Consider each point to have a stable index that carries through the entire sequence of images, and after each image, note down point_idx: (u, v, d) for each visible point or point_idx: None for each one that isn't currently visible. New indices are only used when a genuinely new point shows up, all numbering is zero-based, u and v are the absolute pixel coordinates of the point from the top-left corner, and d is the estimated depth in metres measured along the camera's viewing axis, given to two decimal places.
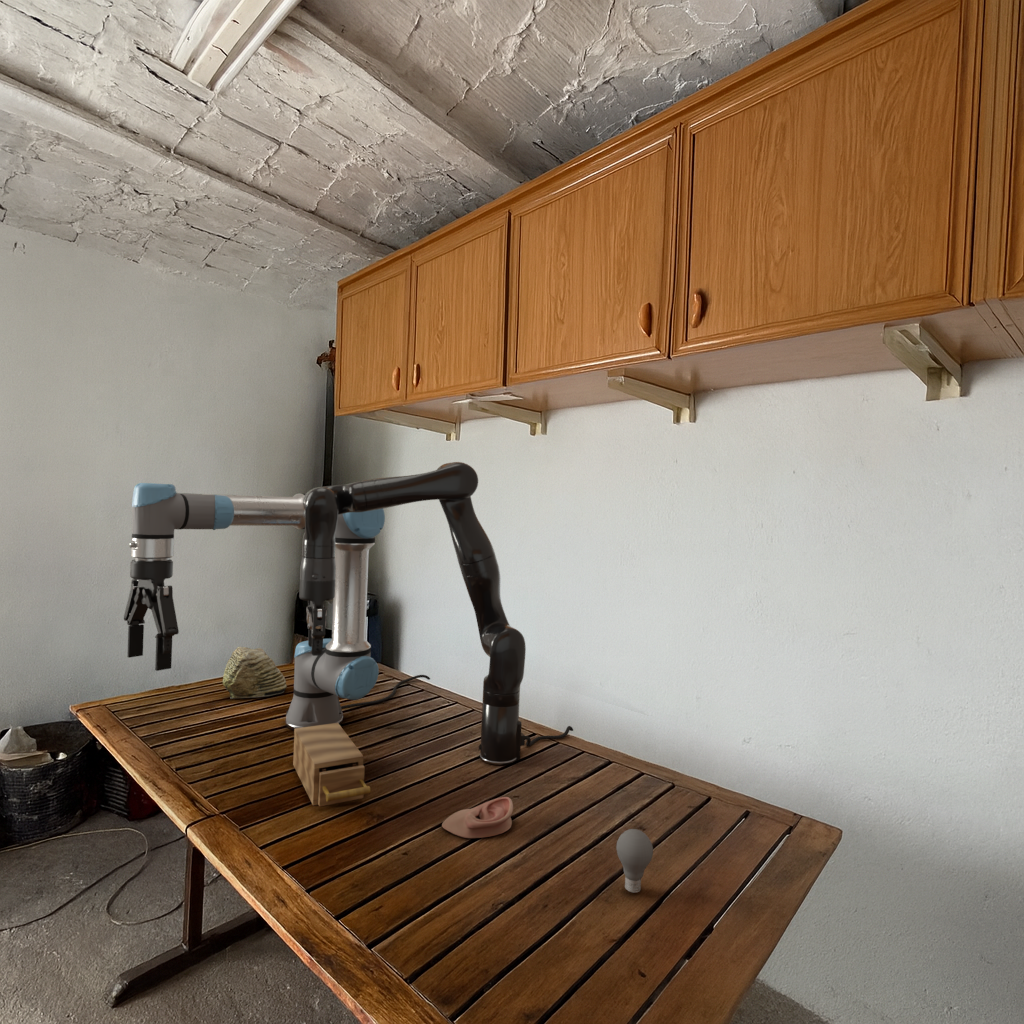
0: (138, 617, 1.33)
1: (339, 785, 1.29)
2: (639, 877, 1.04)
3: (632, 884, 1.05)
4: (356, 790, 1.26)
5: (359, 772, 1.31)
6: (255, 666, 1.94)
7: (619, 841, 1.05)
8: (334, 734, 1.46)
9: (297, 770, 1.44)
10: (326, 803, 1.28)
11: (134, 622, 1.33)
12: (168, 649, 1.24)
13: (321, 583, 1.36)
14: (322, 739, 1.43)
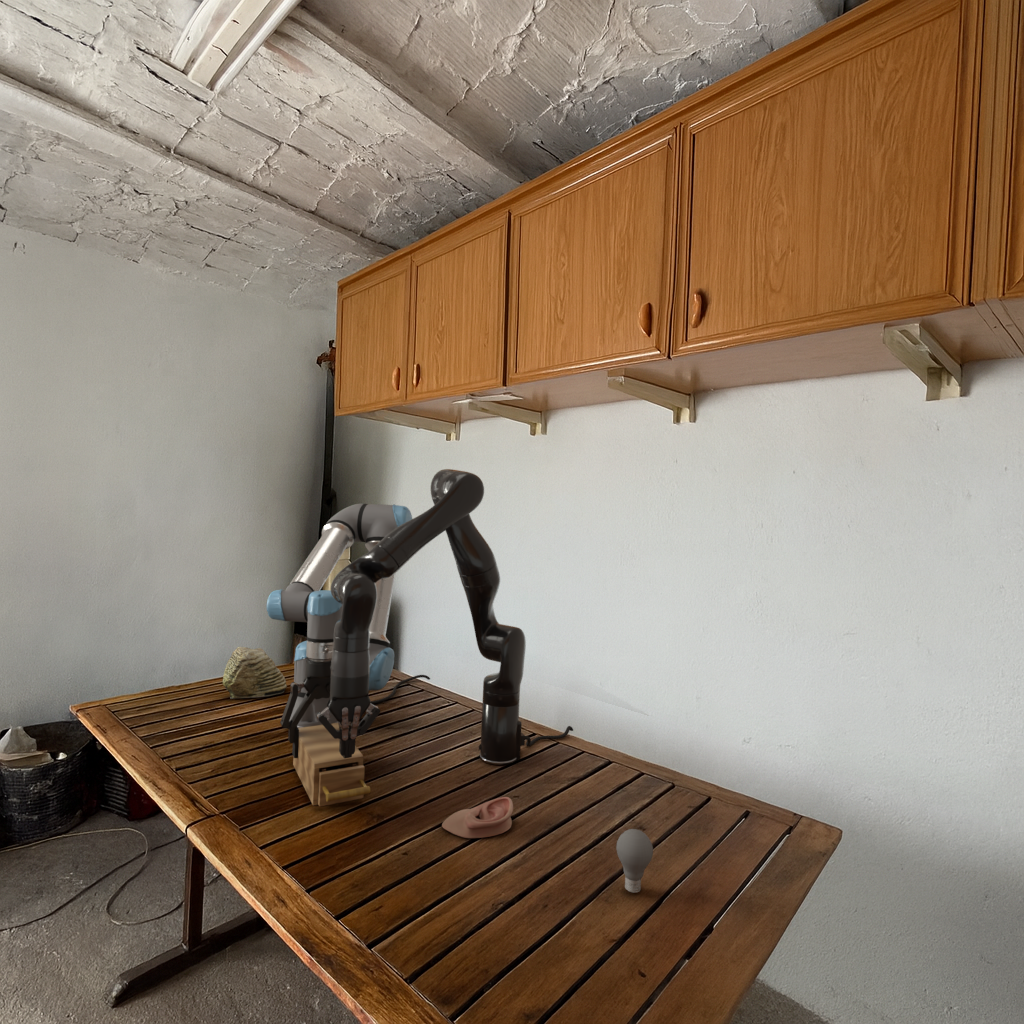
0: None
1: (339, 785, 1.29)
2: (639, 877, 1.04)
3: (632, 884, 1.05)
4: (356, 790, 1.26)
5: (359, 772, 1.31)
6: (255, 666, 1.94)
7: (619, 841, 1.05)
8: None
9: (297, 770, 1.44)
10: (326, 803, 1.28)
11: None
12: None
13: (332, 677, 1.25)
14: (322, 739, 1.43)
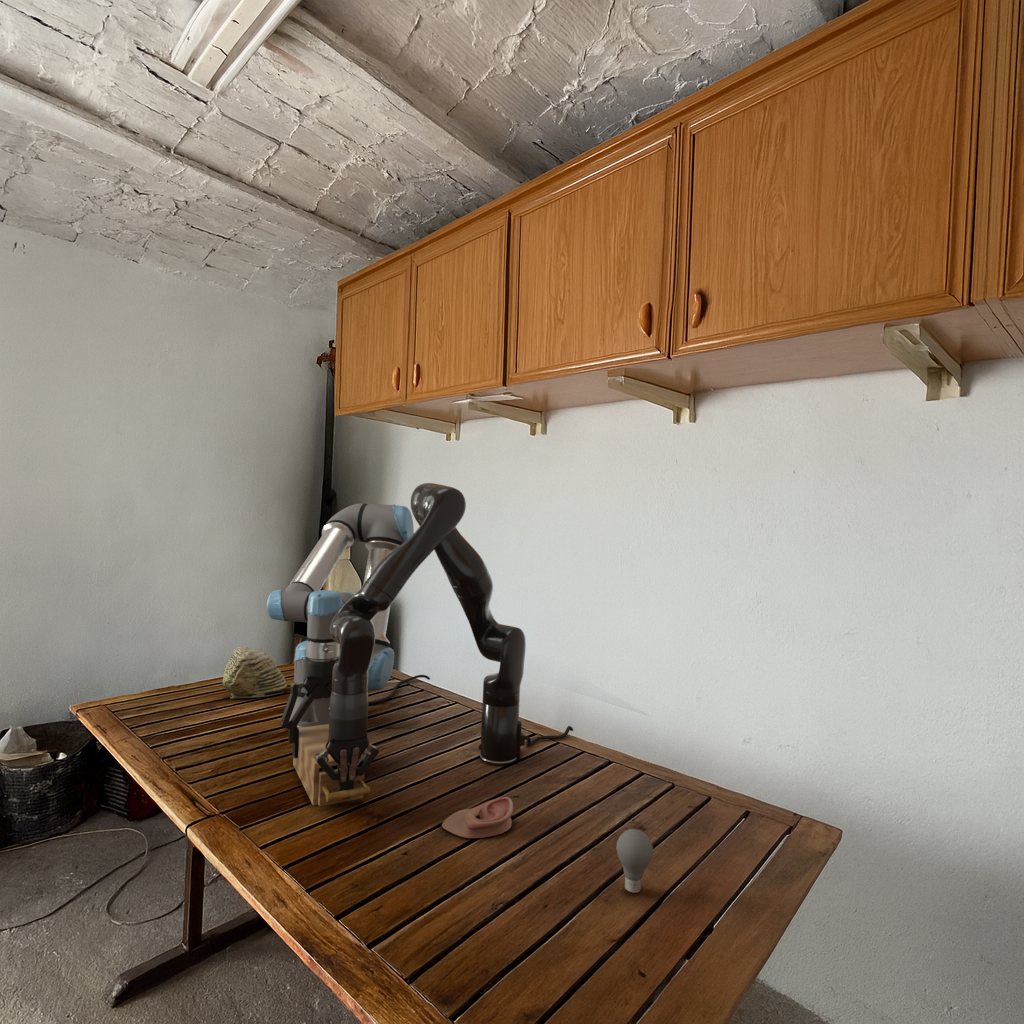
0: None
1: None
2: (639, 877, 1.04)
3: (632, 884, 1.05)
4: (356, 790, 1.26)
5: None
6: (255, 666, 1.94)
7: (619, 841, 1.05)
8: None
9: (297, 770, 1.44)
10: (326, 803, 1.28)
11: None
12: None
13: (330, 719, 1.25)
14: (322, 739, 1.42)
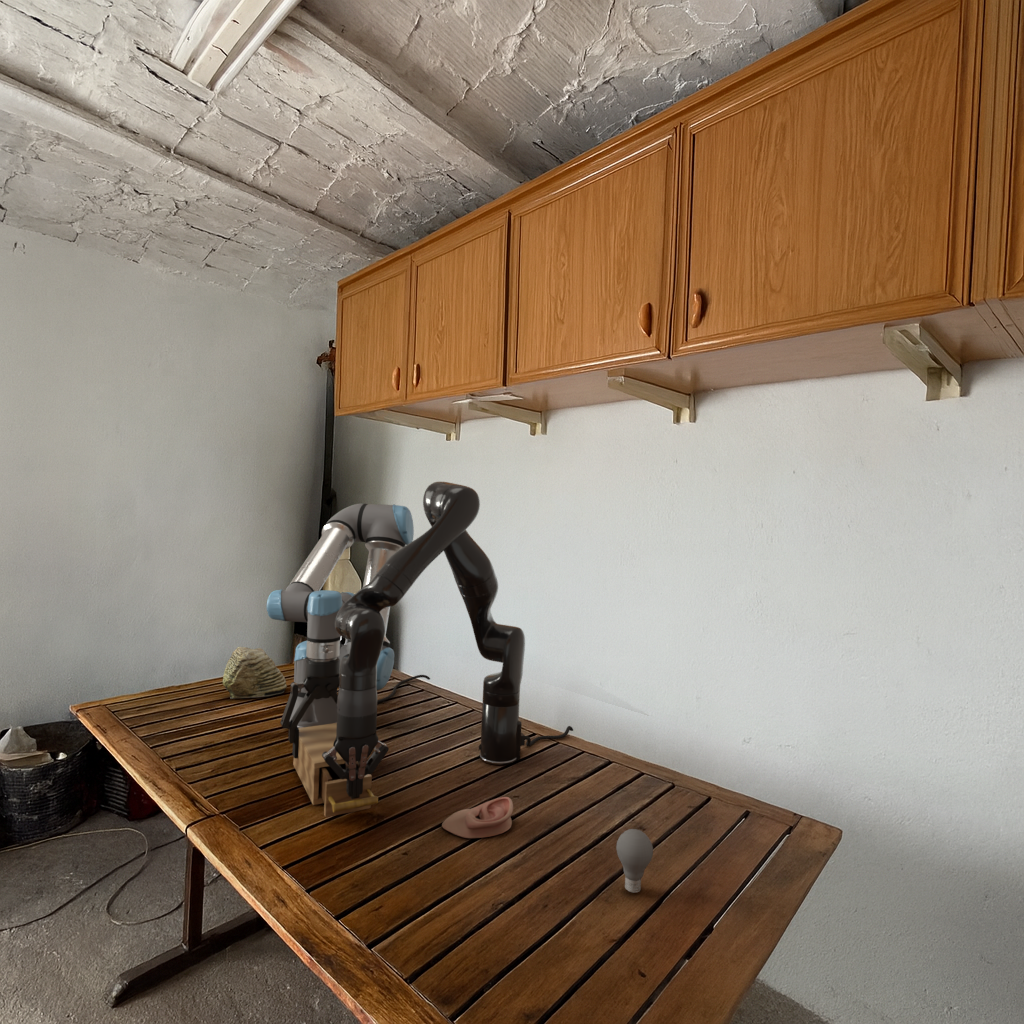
0: None
1: (345, 795, 1.25)
2: (639, 877, 1.04)
3: (632, 884, 1.05)
4: (363, 800, 1.22)
5: (366, 781, 1.27)
6: (255, 666, 1.94)
7: (619, 841, 1.05)
8: (334, 734, 1.46)
9: (297, 770, 1.44)
10: (332, 814, 1.24)
11: None
12: None
13: (338, 716, 1.20)
14: (322, 739, 1.42)
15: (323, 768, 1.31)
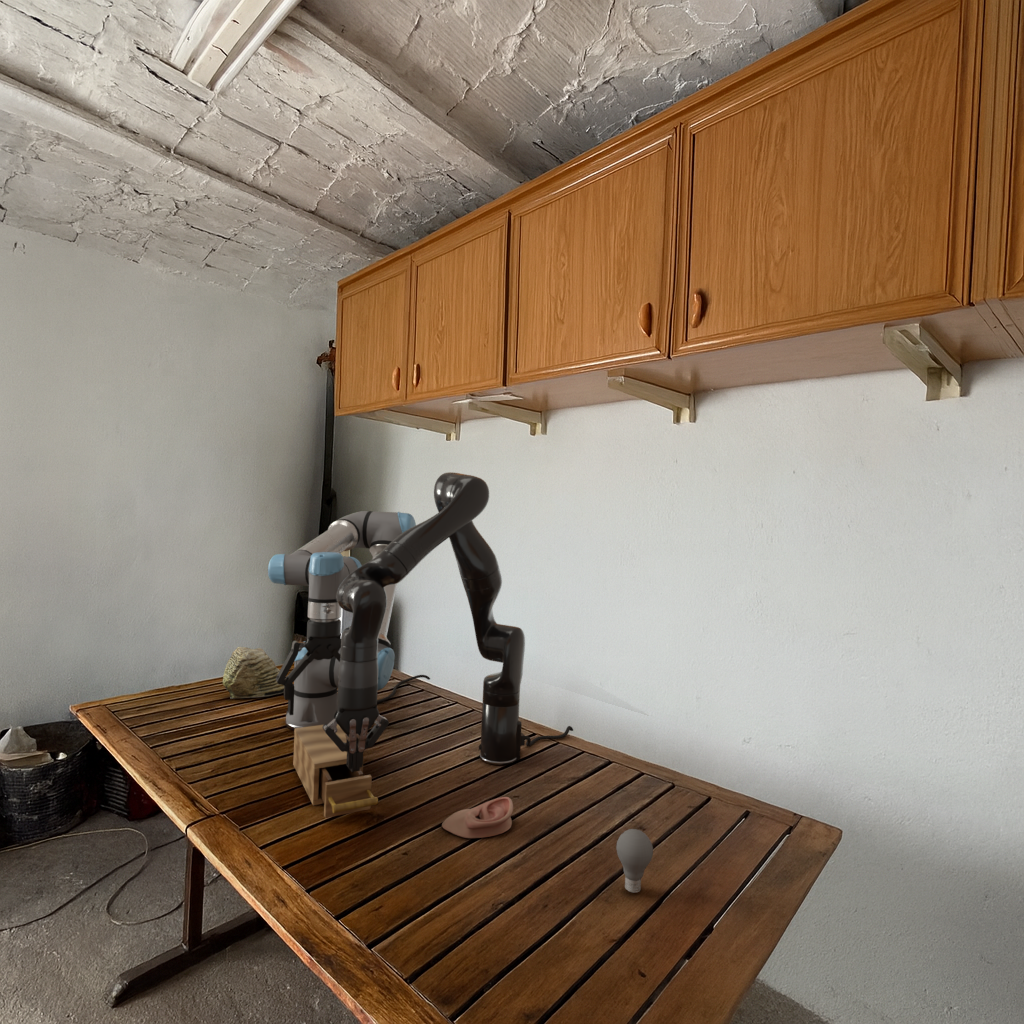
0: None
1: (345, 796, 1.25)
2: (639, 877, 1.04)
3: (632, 884, 1.05)
4: (363, 801, 1.22)
5: (366, 782, 1.27)
6: (255, 666, 1.94)
7: (619, 841, 1.05)
8: None
9: (297, 770, 1.44)
10: (332, 814, 1.24)
11: None
12: None
13: (339, 687, 1.20)
14: (322, 739, 1.43)
15: (323, 768, 1.31)
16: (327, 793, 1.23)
